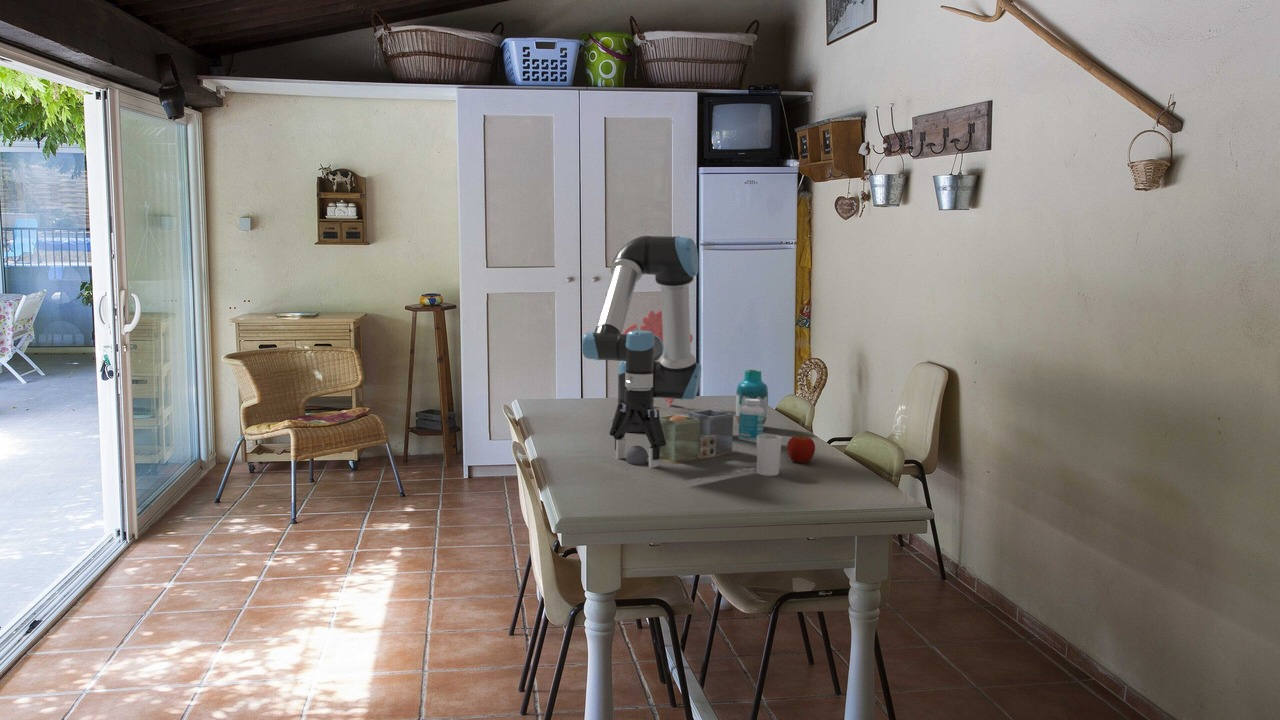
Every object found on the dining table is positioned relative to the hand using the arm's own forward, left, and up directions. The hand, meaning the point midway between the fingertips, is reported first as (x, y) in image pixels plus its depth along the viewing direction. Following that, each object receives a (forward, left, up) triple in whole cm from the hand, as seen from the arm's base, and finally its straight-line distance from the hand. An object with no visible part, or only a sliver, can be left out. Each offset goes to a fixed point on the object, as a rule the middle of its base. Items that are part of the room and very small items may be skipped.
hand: (636, 467), depth 276 cm
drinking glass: (+26, +24, 0) cm, 35 cm away
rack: (+2, +20, 0) cm, 20 cm away
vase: (-19, +70, 0) cm, 73 cm away
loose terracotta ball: (+3, +12, +8) cm, 15 cm away
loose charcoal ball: (0, 0, 0) cm, 0 cm away
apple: (+23, +42, 0) cm, 48 cm away
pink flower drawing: (-71, +76, 0) cm, 104 cm away
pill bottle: (-3, +51, 0) cm, 51 cm away
